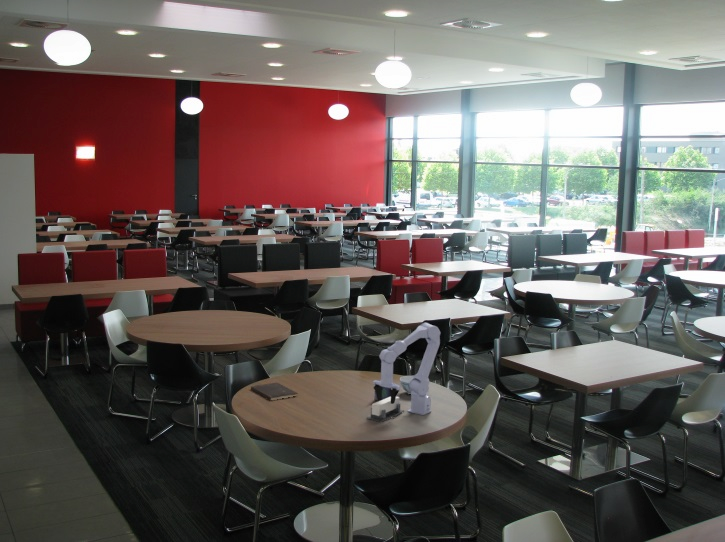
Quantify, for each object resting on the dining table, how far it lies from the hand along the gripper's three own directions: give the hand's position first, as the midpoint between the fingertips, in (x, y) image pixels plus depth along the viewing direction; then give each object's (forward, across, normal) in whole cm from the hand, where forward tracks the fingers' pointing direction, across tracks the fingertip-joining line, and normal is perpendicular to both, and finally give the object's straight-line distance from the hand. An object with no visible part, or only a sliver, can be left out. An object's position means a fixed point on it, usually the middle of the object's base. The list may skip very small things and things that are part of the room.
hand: (386, 401), depth 354 cm
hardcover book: (+7, -66, -8) cm, 67 cm away
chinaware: (+7, -9, +40) cm, 42 cm away
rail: (+4, 0, 0) cm, 4 cm away
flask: (+7, -14, +18) cm, 24 cm away
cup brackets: (+7, 0, 0) cm, 7 cm away
